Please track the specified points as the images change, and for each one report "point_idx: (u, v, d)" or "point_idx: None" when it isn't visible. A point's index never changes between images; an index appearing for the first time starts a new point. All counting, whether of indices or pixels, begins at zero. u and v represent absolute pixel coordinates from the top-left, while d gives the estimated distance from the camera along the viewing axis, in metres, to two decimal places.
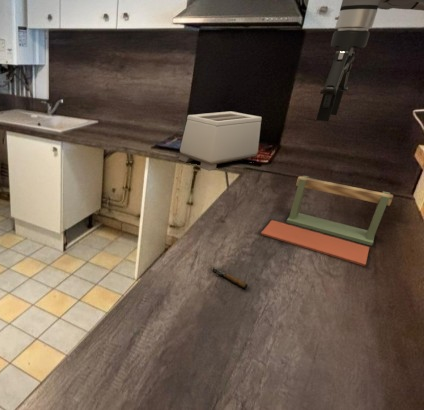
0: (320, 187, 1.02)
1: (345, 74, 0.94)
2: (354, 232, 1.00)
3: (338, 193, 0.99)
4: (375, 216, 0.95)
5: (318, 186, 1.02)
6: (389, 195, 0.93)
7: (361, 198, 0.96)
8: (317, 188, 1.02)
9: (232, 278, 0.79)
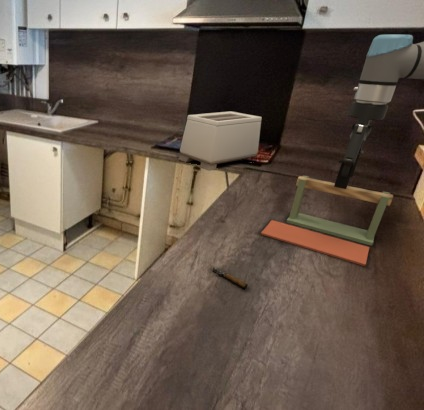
0: (320, 187, 1.02)
1: None
2: (354, 232, 1.00)
3: (338, 193, 0.99)
4: (375, 216, 0.95)
5: (318, 186, 1.02)
6: (389, 195, 0.93)
7: (361, 198, 0.96)
8: (317, 188, 1.02)
9: (232, 278, 0.79)
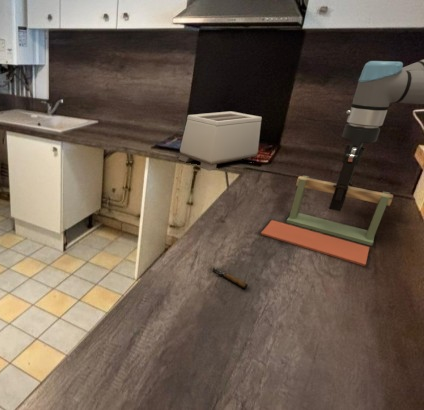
0: (320, 187, 1.02)
1: None
2: (354, 232, 1.00)
3: None
4: (375, 216, 0.95)
5: (318, 186, 1.02)
6: (389, 195, 0.93)
7: (361, 198, 0.96)
8: (317, 188, 1.02)
9: (232, 278, 0.79)
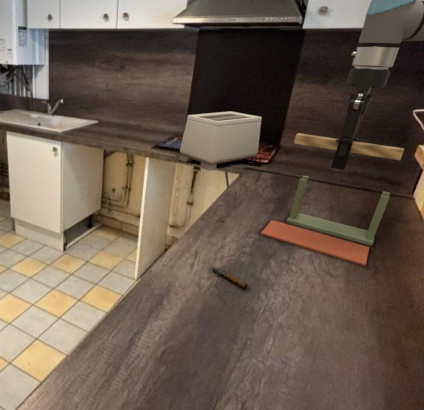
0: (321, 143, 0.90)
1: (359, 117, 0.86)
2: (354, 232, 1.00)
3: None
4: (375, 216, 0.95)
5: (319, 142, 0.91)
6: (400, 148, 0.82)
7: (367, 153, 0.85)
8: (318, 145, 0.91)
9: (232, 278, 0.79)
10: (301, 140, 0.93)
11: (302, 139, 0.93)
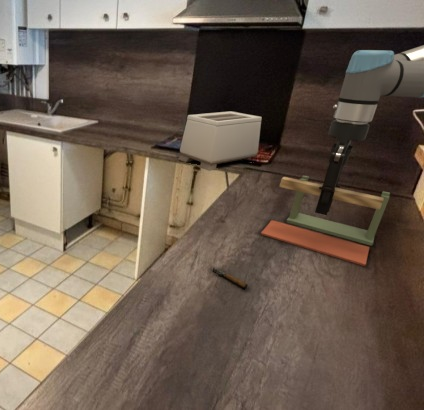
0: (305, 189, 0.94)
1: (341, 166, 0.89)
2: (354, 232, 1.00)
3: None
4: (375, 216, 0.95)
5: (303, 187, 0.94)
6: (379, 198, 0.85)
7: (349, 201, 0.88)
8: (302, 190, 0.94)
9: (232, 278, 0.79)
10: (286, 184, 0.96)
11: (287, 183, 0.96)
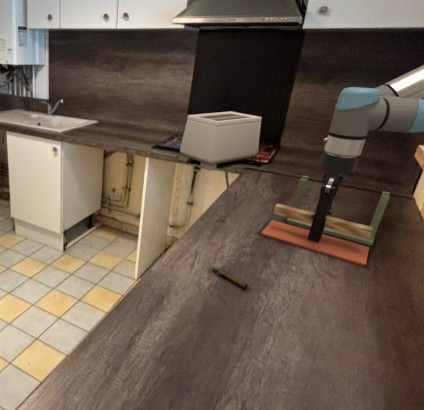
0: (298, 216, 0.97)
1: (332, 195, 0.92)
2: None
3: None
4: (375, 216, 0.95)
5: (296, 215, 0.97)
6: (369, 227, 0.88)
7: (340, 230, 0.91)
8: (295, 217, 0.97)
9: (232, 278, 0.79)
10: (280, 211, 0.99)
11: (280, 210, 0.99)
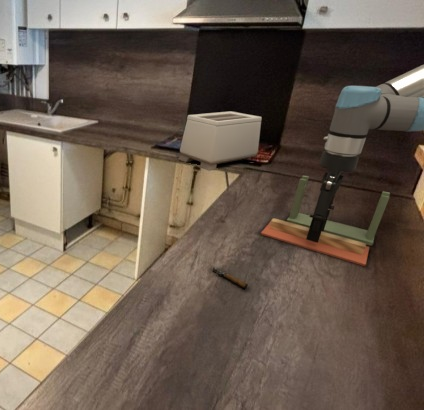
0: (293, 231, 0.99)
1: None
2: (354, 232, 1.00)
3: None
4: (375, 216, 0.95)
5: (292, 230, 0.99)
6: (362, 244, 0.90)
7: (334, 245, 0.93)
8: (290, 232, 0.99)
9: (232, 278, 0.79)
10: (275, 226, 1.01)
11: (276, 225, 1.01)
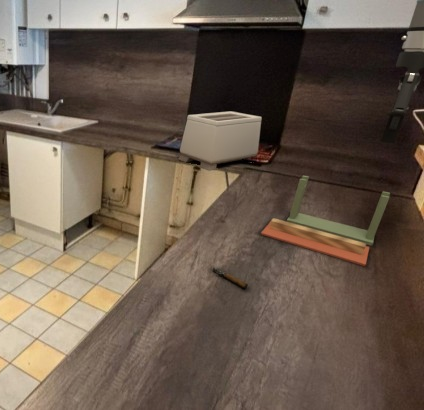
0: (293, 231, 0.99)
1: None
2: (354, 232, 1.00)
3: (311, 239, 0.96)
4: (375, 216, 0.95)
5: (292, 230, 0.99)
6: (362, 244, 0.90)
7: (334, 245, 0.93)
8: (290, 232, 0.99)
9: (232, 278, 0.79)
10: (275, 226, 1.01)
11: (276, 225, 1.01)
